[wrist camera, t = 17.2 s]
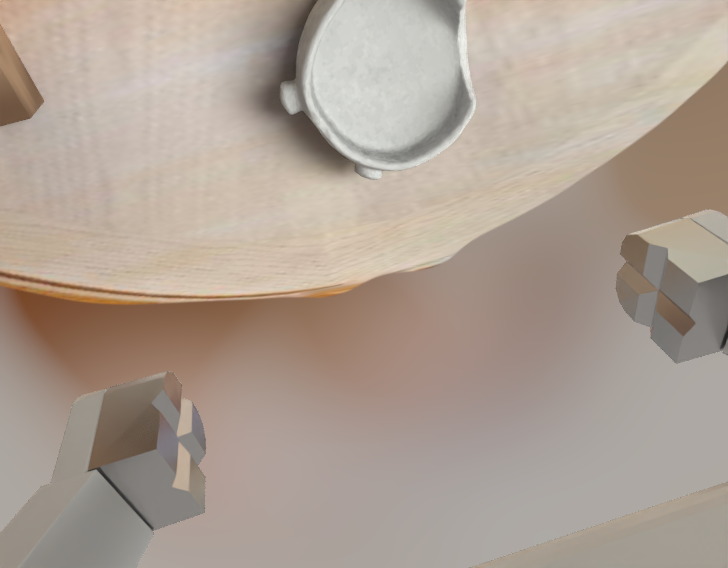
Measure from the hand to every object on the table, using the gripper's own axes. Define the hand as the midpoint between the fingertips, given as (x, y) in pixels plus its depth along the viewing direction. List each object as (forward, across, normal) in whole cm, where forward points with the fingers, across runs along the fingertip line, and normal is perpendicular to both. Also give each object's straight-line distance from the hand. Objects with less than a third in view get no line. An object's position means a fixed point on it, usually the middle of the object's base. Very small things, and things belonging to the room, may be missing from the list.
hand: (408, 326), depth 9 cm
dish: (+34, -7, +6) cm, 36 cm away
